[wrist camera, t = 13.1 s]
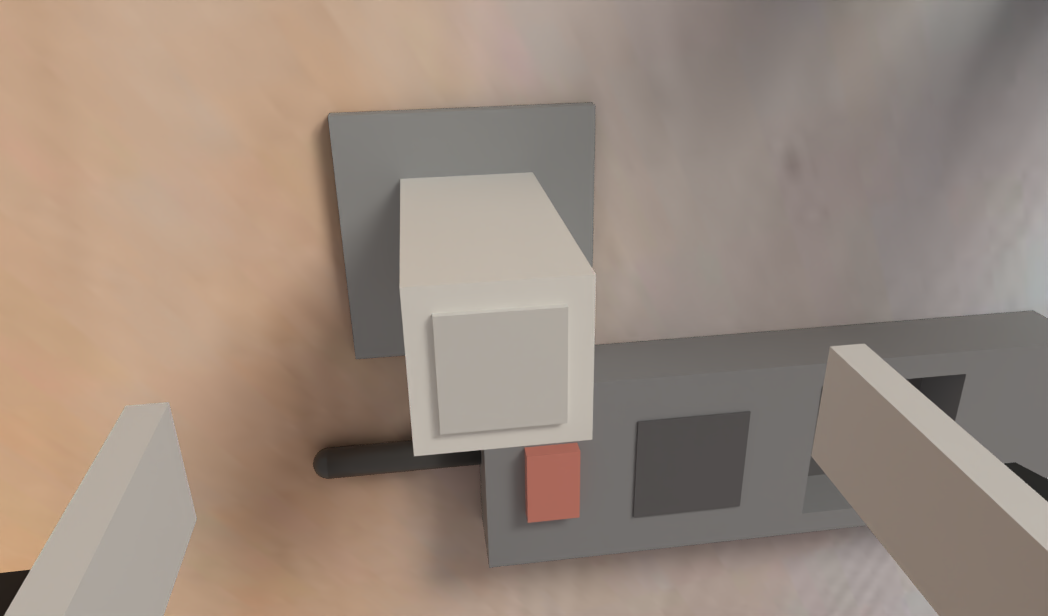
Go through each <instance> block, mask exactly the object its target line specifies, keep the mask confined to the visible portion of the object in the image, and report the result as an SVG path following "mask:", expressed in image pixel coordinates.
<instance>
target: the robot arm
mask: <svg viewBox="0 0 1048 616" xmlns="http://www.w3.org/2000/svg"><path fill="white" fill-rule="evenodd" d="M811 456H812V458H813V459H814V460H815V461H816V463H817V464H818V465H819V466H820V468H821V469H822V470H823V471H824V473H825V474H826V475H827V476H828V478H829V479H830V480H831V481H832V483H833V484H834V485H835V486H836V488H837V489H838V490H839V491H840V493H841V494H842V495H843V496H844V498H845V499H846V500H847V501H848V503H849V504H850V505H851V506H852V508H853V509H854V510H855V511H856V513H857V514H858V515H859V516H860V518H861V519H862V520H863V521H864V523H865V524H866V525H867V526H868V527H869V529H870V530H871V531H872V532H873V534H874V535H875V536H876V537H877V539H878V540H879V541H880V542H881V544H882V545H883V546H884V547H885V549H886V550H887V551H888V552H889V554H890V555H891V556H892V557H893V559H894V560H895V561H896V562H897V564H898V565H899V566H900V567H901V569H902V570H903V571H904V572H905V574H906V575H907V576H908V577H909V579H910V580H911V581H912V582H913V584H914V585H915V586H916V587H917V589H918V590H919V591H920V592H921V594H922V595H923V596H924V597H925V599H926V600H927V601H928V602H929V604H930V605H931V606H932V607H933V608H934V610H935V611H936V612H937V613H938V615H939V616H1048V479H1047V478H1045V477H1043V476H1041V475H1039V474H1037V473H1035V472H1033V471H1031V470H1029V469H1027V468H1025V467H1023V466H1022V465H1020V464H1018V463H1016V462H1013V463H1002V462H1001V461H1000V460H999V459H998V458H996V457H995V456H994V455H993V454H992V453H991V452H989V451H988V450H987V449H986V448H985V447H984V446H982V445H981V444H980V443H979V442H978V441H977V440H976V439H974V438H973V437H972V436H971V435H970V434H969V433H967V432H966V431H965V430H964V429H963V428H962V427H960V426H959V425H958V424H957V423H956V422H955V421H954V420H952V419H951V418H950V417H949V416H948V415H947V414H945V413H944V412H943V411H942V410H941V409H940V408H939V407H937V406H936V405H935V404H934V403H933V402H932V401H930V400H929V399H928V398H927V397H926V396H925V395H923V394H922V393H921V392H920V391H919V390H918V389H917V388H915V387H914V386H913V385H912V384H911V383H910V382H908V381H907V380H906V379H905V378H904V377H903V376H901V375H900V374H899V373H898V372H897V371H896V370H895V369H893V368H892V367H891V366H890V365H889V364H888V363H886V362H885V361H884V360H883V359H882V358H881V357H879V356H878V355H877V354H876V353H875V352H874V351H873V350H871V349H870V348H869V347H868V346H867V345H866V344H853V345H841V346H830V349H829V355H828V361H827V367H826V373H825V378H824V384H823V390H822V396H821V402H820V408H819V414H818V419H817V425H816V431H815V437H814V443H813V449H812V454H811ZM196 520H197V518H196V513H195V509H194V505H193V501H192V497H191V492H190V488H189V484H188V480H187V476H186V471H185V467H184V463H183V459H182V455H181V451H180V446H179V442H178V438H177V434H176V430H175V425H174V421H173V417H172V413H171V409H170V404H169V402H164V403H152V404H140V405H128V406H125V408H124V410H123V411H122V413H121V415H120V417H119V418H118V420H117V422H116V423H115V425H114V427H113V429H112V430H111V432H110V434H109V436H108V437H107V439H106V441H105V442H104V444H103V446H102V448H101V449H100V451H99V453H98V454H97V456H96V458H95V460H94V461H93V463H92V465H91V467H90V468H89V470H88V472H87V473H86V475H85V477H84V479H83V480H82V482H81V484H80V485H79V487H78V489H77V491H76V492H75V494H74V496H73V498H72V499H71V501H70V503H69V504H68V506H67V508H66V510H65V511H64V513H63V515H62V517H61V518H60V520H59V522H58V523H57V525H56V527H55V529H54V530H53V532H52V534H51V535H50V537H49V539H48V541H47V542H46V544H45V546H44V548H43V549H42V551H41V553H40V554H39V556H38V558H37V560H36V561H35V563H34V565H33V566H32V568H31V570H24V571H15V572H6V573H0V616H164V613H165V610H166V607H167V604H168V601H169V598H170V595H171V592H172V590H173V587H174V584H175V581H176V578H177V575H178V572H179V569H180V566H181V563H182V561H183V558H184V555H185V552H186V549H187V546H188V543H189V540H190V537H191V534H192V532H193V529H194V526H195V523H196Z"/></svg>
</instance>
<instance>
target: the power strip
mask: <svg viewBox="0 0 1048 616" xmlns="http://www.w3.org/2000/svg"><path fill="white" fill-rule="evenodd" d="M853 344H866V345H867V346H868V347H869V348H870V349H871V350H873V351H874V352H875V353H876V354H877V355H878V356H879V357H881V358H882V359H883V360H884V361H885V362H886V363H888V364H889V365H890V366H891V367H892V368H893V369H895V370H896V371H897V372H898V373H899V374H900V375H901V376H903V377H904V378H905V379H906V380H907V381H908V382H910V383H911V384H912V385H913V386H914V387H915V388H917V389H918V390H919V391H920V392H921V393H922V394H923V395H925V396H926V397H927V398H928V399H929V400H930V401H932V402H933V403H934V404H935V405H936V406H937V407H939V408H940V409H941V410H942V411H943V412H944V413H945V414H947V415H948V416H949V417H950V418H951V419H952V420H954V421H955V422H956V423H957V424H958V425H959V426H960V427H962V428H963V429H964V430H965V431H966V432H967V433H969V434H970V435H971V436H972V437H973V438H974V439H976V440H977V441H978V442H979V443H980V444H981V445H982V446H984V447H985V448H986V449H987V450H988V451H989V452H991V453H992V454H993V455H994V456H995V457H996V458H998V459H999V460H1000V461H1001V462H1002V463H1013V462H1016V463H1018V464H1020V465H1022V466H1023V467H1025V468H1027V469H1029V470H1031V471H1033V472H1035V473H1037V474H1039V475H1041V476H1043V477H1045V478H1047V477H1048V318H1046V317H1044V316H1043V315H1041V314H1039V313H1037V312H1035V311H1022V312H1009V313H996V314H984V315H971V316H958V317H945V318H933V319H920V320H907V321H895V322H882V323H869V324H856V325H844V326H831V327H818V328H805V329H793V330H780V331H767V332H755V333H742V334H729V335H716V336H704V337H691V338H678V339H666V340H653V341H640V342H627V343H615V344H602V345H594V388H593V433H592V440H583V441H573V442H562V443H551V444H540V445H530V446H519V447H508V448H497V449H487V450H476V451H465V452H454V453H444V454H433V455H422V456H414V451H413V440H410V441H399V442H388V443H377V444H366V445H355V446H344V447H333V448H325V449H323V450H321V451H319V452H318V453H317V455H316V456H315V458H314V462H313V467H314V470H315V472H316V473H317V474H318V475H319V476H320V477H322V478H326V479H332V478H342V477H353V476H363V475H374V474H384V473H394V472H405V471H415V470H426V469H436V468H447V467H457V466H468V465H478V464H480V479H481V500H482V520H483V527H484V534H485V541H486V548H487V555H488V562H489V568H491V567H500V566H509V565H517V564H526V563H535V562H544V561H553V560H562V559H571V558H580V557H589V556H598V555H607V554H616V553H625V552H634V551H643V550H652V549H661V548H670V547H679V546H688V545H696V544H705V543H714V542H723V541H732V540H741V539H750V538H759V537H768V536H777V535H786V534H795V533H804V532H813V531H822V530H831V529H840V528H849V527H858V526H867V525H866V524H865V523H864V521H863V520H862V519H861V518H860V516H859V515H858V514H857V513H856V511H855V510H854V509H853V508H852V506H851V505H850V504H849V503H848V501H847V500H846V499H845V498H844V496H843V495H842V494H841V493H840V491H839V490H838V489H837V488H836V486H835V485H834V484H833V483H832V481H831V480H830V479H829V478H828V476H827V475H826V474H825V473H824V471H823V470H822V469H821V468H820V466H819V465H818V464H817V463H816V461H815V460H814V459H813V458H812V456H811V454H812V449H813V443H814V437H815V431H816V425H817V419H818V414H819V408H820V402H821V396H822V390H823V384H824V378H825V373H826V367H827V361H828V355H829V349H830V346H841V345H853Z"/></svg>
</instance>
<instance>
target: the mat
mask: <svg viewBox="0 0 1048 616" xmlns="http://www.w3.org/2000/svg"><path fill="white" fill-rule="evenodd" d="M595 109H596V105H595V104H593V103H592V102H591V103H566V104H542V105H517V106H492V107H467V108H443V109H418V110H393V111H369V112H344V113H329V115H328V122H329V130H330V139H331V148H332V157H333V165H334V174H335V183H336V191H337V200H338V209H339V217H340V226H341V235H342V243H343V252H344V261H345V270H346V278H347V287H348V296H349V304H350V313H351V322H352V330H353V339H354V348H355V356H356V359H365V358H378V357H391V356H404V355H405V346H404V335H403V323H402V311H401V300H400V288H399V284H400V179H408V178H427V177H447V176H467V175H487V174H507V173H527V172H533V174H534V175H535V177H536V178H537V180H538V182H539V183H540V185H541V187H542V188H543V190H544V191H545V193H546V195H547V196H548V198H549V199H550V201H551V203H552V204H553V206H554V208H555V209H556V211H557V212H558V214H559V216H560V217H561V219H562V220H563V222H564V224H565V225H566V227H567V228H568V230H569V232H570V233H571V235H572V237H573V238H574V240H575V241H576V243H577V245H578V246H579V248H580V249H581V251H582V253H583V254H584V256H585V257H586V259H587V261H588V262H589V264H590V266H591V267H592V260H593V209H594V159H595Z"/></svg>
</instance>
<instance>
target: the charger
mask: <svg viewBox="0 0 1048 616" xmlns="http://www.w3.org/2000/svg"><path fill="white" fill-rule="evenodd" d="M399 288H400V300H401V311H402V323H403V335H404V346H405V358H406V370H407V381H408V393H409V405H410V416H411V428H412V440H413V451H414V456H422V455H433V454H444V453H454V452H465V451H476V450H487V449H497V448H508V447H519V446H530V445H540V444H551V443H562V442H573V441H583V440H592V433H593V388H594V344H595V300H596V274H595V272H594V270H593V269H592V267H591V266H590V264H589V262H588V261H587V259H586V257H585V256H584V254H583V253H582V251H581V249H580V248H579V246H578V245H577V243H576V241H575V240H574V238H573V237H572V235H571V233H570V232H569V230H568V228H567V227H566V225H565V224H564V222H563V220H562V219H561V217H560V216H559V214H558V212H557V211H556V209H555V208H554V206H553V204H552V203H551V201H550V199H549V198H548V196H547V195H546V193H545V191H544V190H543V188H542V187H541V185H540V183H539V182H538V180H537V178H536V177H535V175H534V174H533V172H527V173H507V174H487V175H467V176H447V177H427V178H408V179H400V284H399Z"/></svg>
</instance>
